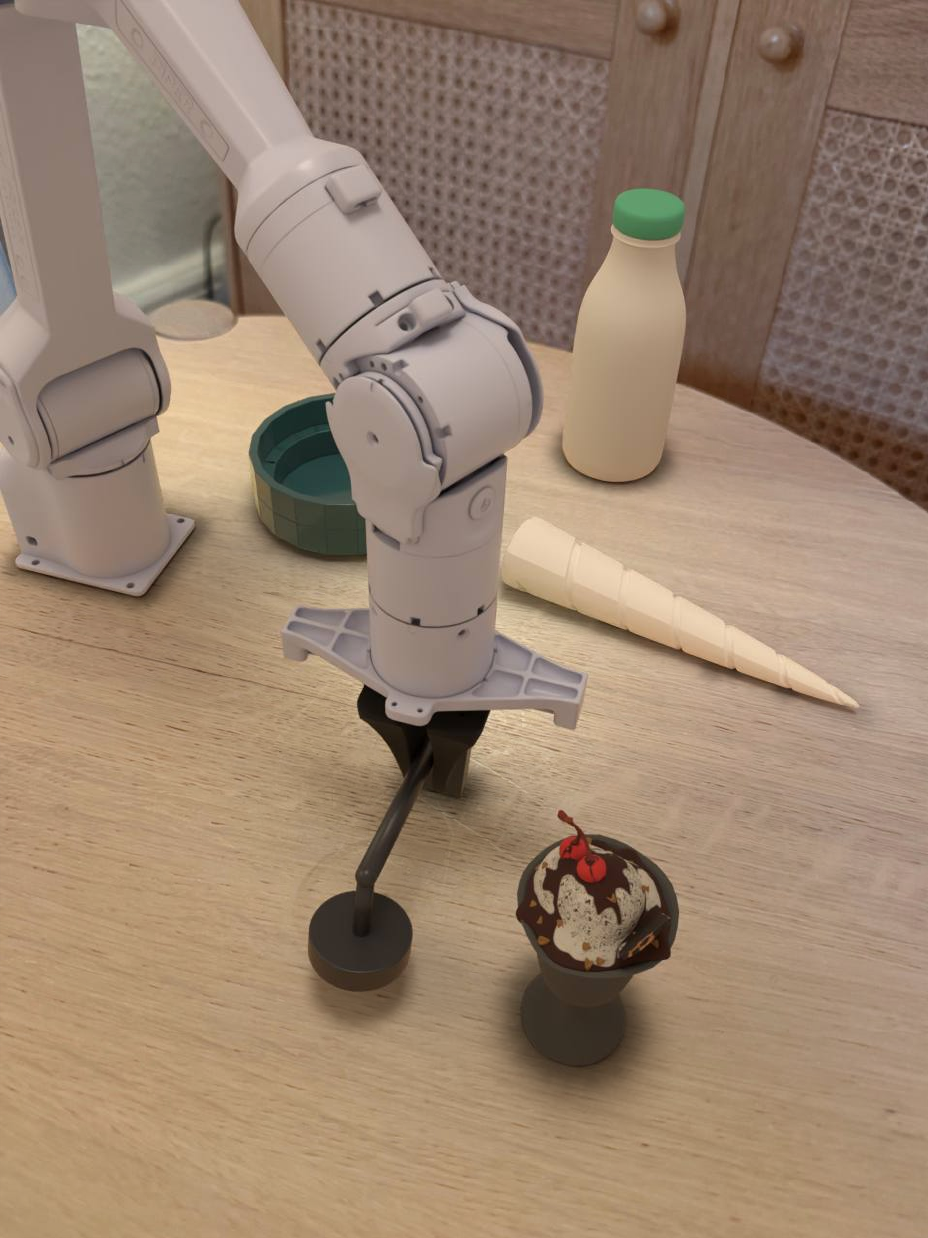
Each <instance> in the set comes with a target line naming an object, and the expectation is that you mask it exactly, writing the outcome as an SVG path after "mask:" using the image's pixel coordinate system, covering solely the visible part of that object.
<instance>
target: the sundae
mask: <svg viewBox="0 0 928 1238" xmlns="http://www.w3.org/2000/svg"><path fill="white" fill-rule="evenodd" d="M556 816H557V819H558V820H560V821H561V822H562V823H566V824H567V825H569V826H570V827H573V828H574V829H575V831H576V834H575V835H570V836H567V837H565V838H562V839H560V840H558V841H555V842H554V843H552V844H550V845H548V846H547V847H545V848H543V850H541V851H540V852H539V853H538V854H537V855H535V857H534V858H533V859H532V860H531V861H530V862H529V863H528V864H527V866H526V867H525V869H523V871H522V873H521V876H520V878H519V882H518V885H517V892H516V898H517V899H516V900H517V908H516V910H515V917H516V920H517V921H518V923H520V924H521V925H522V926H521V927H522V928H523V930H524V932H525V935H526V937H527V939H528V941H529V943H530V944H531V946H532V948H533V950H534V951H535V953H536V957H537V960H538V965H539V970H540V972H541V973H539V974H538V975H536V976H535V977H534V979H532V981H531V982H530V983H529V984H528V986H527V987H526V988H525V990H524V993H523V996H522V999H521V1004H520V1018H521V1023H522V1028H523V1030H524V1032H525V1035H526V1036H527V1038H528V1040H529V1041H530V1042H531V1044H532V1046H533V1047H534V1048H536V1049H537V1050H538V1051H539V1052H540V1053H541V1054H542V1055H544V1056H546V1057H547V1058H548V1059H549V1060H551V1061H554V1062H557V1063H559V1064H563V1065H567V1066H587V1065H592V1064H595V1063H597V1062H599V1061H602V1060H603V1059H605V1058H606V1057H608V1056H609V1055H610V1054H611V1053H612V1052H613V1051H614V1050H615V1049H616V1047H617V1046H618V1044H619V1043H620V1041H621V1040H622V1038H623V1037H622V1036H623V1033H624V1030H625V1023H626V1017H625V1009H624V1005H623V1001H622V999H621V998H620V996H619V994H621V992H622V991H623V990H624V989H625V987H626V986H627V985H628V983H630V981H631V980H632V979H633V977H634V975H638V974H640V973H644V972H646V971H648V970H651V969H654V968H655V967H656V966H657V965H659V964H660V963H661V962H663V961H666V960H669V959H670V958H671V956H672V950H671V949H672V947H673V945H674V943H675V940H676V936H677V932H678V929H679V921H680V920H679V919H680V907H679V902H678V897H677V894H676V892H675V891H676V890H675V888H674V885H673V883H672V881H671V880H670V879H669V878H668V876H667V874H666V873H665V872H664V871H663V869H661V868H660V867H659V865H658V864H657V863H655V862H654V861H652V859H650V858H648V857H647V856H646V855H644V853H643V854H642V852H640V851H639V850H637V849H635V848H634V847H632V846H631V845H628V843H625V842H623V841H620V840H618V839H617V838H616V839H615V838H612V837H609V836H607V835H602V834H592V833H591V834H589V833H585V832H584V831H583V829H581V827H579V826H578V825H577V824H576V823H575V822H574V820H575V819H574V818H573V817H571V816H569V815H568V814H567V813H566V812H565V811H564V810H563V809H559V810H558V811H557V815H556Z"/></svg>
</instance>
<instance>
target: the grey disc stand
mask: <svg viewBox="0 0 928 1238" xmlns="http://www.w3.org/2000/svg"><path fill="white" fill-rule="evenodd" d="M472 749H473V747H471V748H470V749H468V750H467V751H466V752H465V753H464V754H463V755H462V756H461V757H460V758H459V760H458V761H457V765H456V768H455V770H454V773H453V775H452V778H451V781H450V783H449V786H448V788H447V791H445V792H442V791H438V790H435V789H433V787H432V772H433V763H434V757H433V750H432V744H431V741H430V738H429V736H428V734H427V735H426V737H425V739H424V741H423V743H422V745H421V747H420V748H419V750H418V752H417V754H416V756H415V758H414V760H413V762H412V764H411V766H410V768H409V770H408V772H407V774H406V776H405V778H404V777H403V780H402V782H401V783H400V785H399V787H398V788H397V790H396V794H395V795H394V797H393V799H392V801H391V802H390V805H389V807H388V808H387V810H386V813H385V814H384V816H383V818H382V820H381V822H380V824H379V826H378V828H377V829H376V832H375V833H374V835H373V838H372V840H371V841H370V843H369V845H368V847H367V849H366V852H365V853H364V855H363V857H362V859H361V861H360V863H359V864H358V866H357V869H356V871H355V873H354V880H355V882H356V887H355V890H349V891H344V892H341V893H340V892H339V893H338V894H335V895H333V896H332V897H329V898H328V899H327V900H324V902H322V903H321V904H320V905H319V906H318V908H316V910H315V911H314V913H313V914H312V916H311V919H310V921H309V925H308V936H307V955H308V960H309V963H310V965H311V967H312V968H313V970H314V971H315V973H316V974H317V975H318V976H319V977H320V979H322V981H324V982H326V983H328V984H329V985H330V986H332V987H334V988H337V989H339V990H343V991H346V992H347V991H348V992H351V993H368V992H373V991H376V990H379V989H380V990H381V989H382V988H383V989H384V988H385V987H387V986H389V985H391V984H392V983H393V982H395V981H396V980H397V979H398V978H399V977H400V976H401V975H402V974H403V973H404V971H405V970H406V968H407V967H408V964H409V962H410V959H411V953H412V952H411V951H412V944H413V937H414V934H413V933H414V931H413V924H412V922H411V919H410V916H409V915H408V913H407V912H406V910H405V909H404V908H403V907H402V906H401V905H400V904H399V903H398V902H397V901H395V900H394V899H392V898H391V897H389V896H387V895H385V894H383V893H379V892H376V891H375V884H376V883H377V881H378V879H379V877H380V875H381V873H382V871H383V869H384V866H385V864H386V863H387V861H388V858H389V856H390V855H391V853H392V850H393V849H394V846H395V844H396V843H397V840H398V838H399V836H400V834H401V832H402V829H403V828H404V826H405V824H406V822H407V820H408V818H409V815H410V813H411V811H412V809H413V807H414V805H415V803H416V801H417V799H418V797H419V795H420V793H421V791H422V789H423V788H425V789H428V790H432V791H435V792H438V793H442V794H446V795H448V796H452V797H455V798H461V796H462V795H463V792H464V790H465V787H466V785H467V780H468V773H469V769H470V767H469V766H470V761H471V754H472Z"/></svg>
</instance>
